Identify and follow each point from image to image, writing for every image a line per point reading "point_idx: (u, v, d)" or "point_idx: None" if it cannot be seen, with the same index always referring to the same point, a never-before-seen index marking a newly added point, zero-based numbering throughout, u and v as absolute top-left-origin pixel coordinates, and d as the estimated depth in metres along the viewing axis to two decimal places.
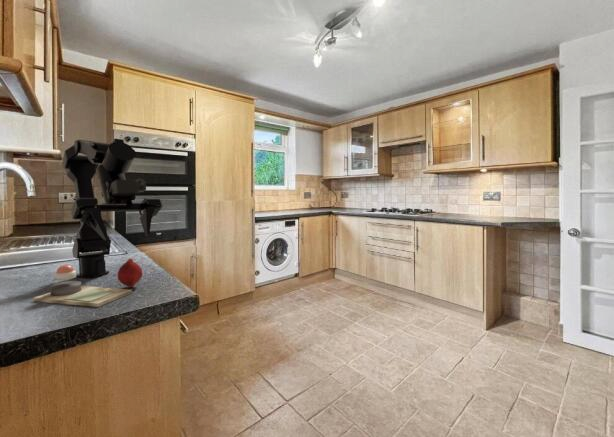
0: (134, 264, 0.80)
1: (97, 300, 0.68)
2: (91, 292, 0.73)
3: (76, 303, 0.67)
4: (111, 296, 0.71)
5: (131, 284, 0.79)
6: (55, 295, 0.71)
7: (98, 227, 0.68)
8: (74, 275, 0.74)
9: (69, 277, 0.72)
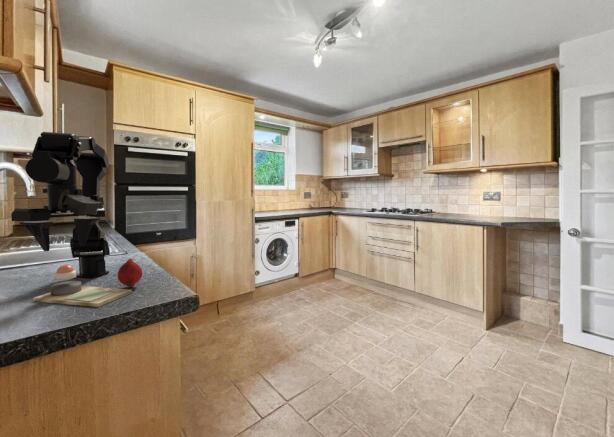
0: (134, 264, 0.80)
1: (97, 300, 0.68)
2: (91, 292, 0.73)
3: (76, 303, 0.67)
4: (111, 296, 0.71)
5: (131, 284, 0.79)
6: (55, 295, 0.71)
7: (41, 237, 0.67)
8: (74, 275, 0.74)
9: (69, 277, 0.72)
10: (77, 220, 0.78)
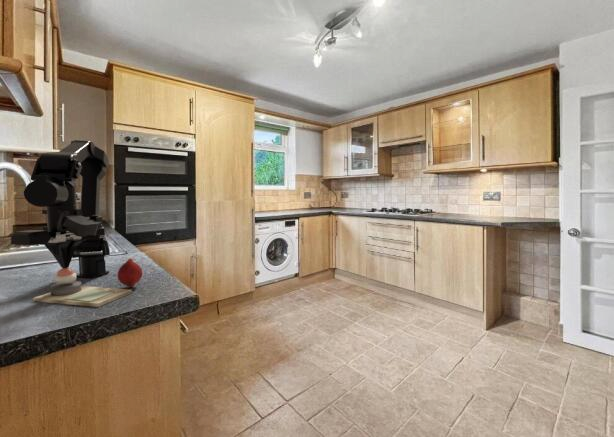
0: (134, 264, 0.80)
1: (97, 300, 0.68)
2: (91, 292, 0.73)
3: (76, 303, 0.67)
4: (111, 296, 0.71)
5: (131, 284, 0.79)
6: (55, 295, 0.71)
7: (59, 256, 0.72)
8: (74, 278, 0.74)
9: (69, 280, 0.72)
10: None
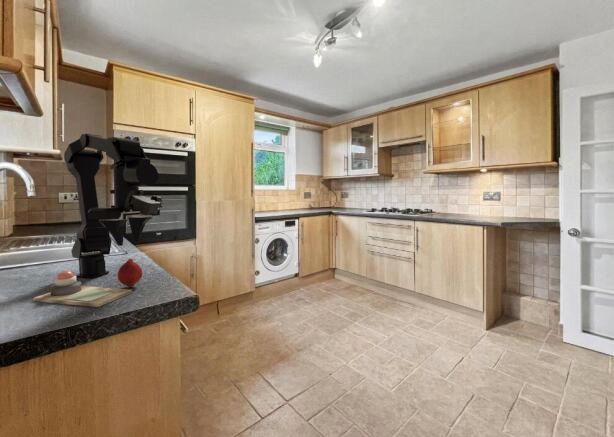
0: (134, 264, 0.80)
1: (97, 300, 0.68)
2: (91, 292, 0.73)
3: (76, 303, 0.67)
4: (111, 296, 0.71)
5: (131, 284, 0.79)
6: (55, 295, 0.71)
7: (117, 233, 0.76)
8: (74, 281, 0.74)
9: (69, 283, 0.72)
10: (131, 219, 0.83)
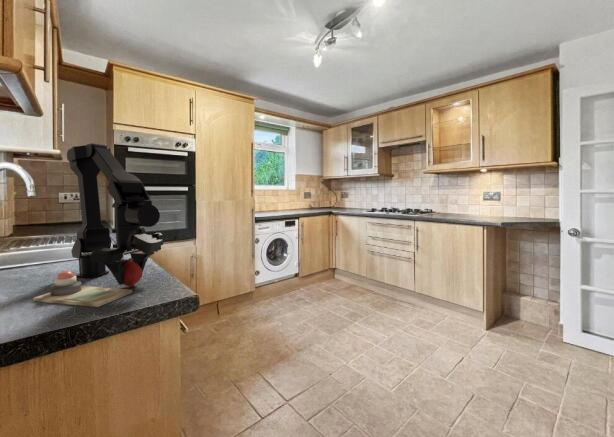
0: (134, 264, 0.80)
1: (97, 300, 0.68)
2: (91, 292, 0.73)
3: (76, 303, 0.67)
4: (111, 296, 0.71)
5: (131, 284, 0.79)
6: (55, 295, 0.71)
7: (118, 273, 0.76)
8: (74, 281, 0.74)
9: (69, 283, 0.72)
10: (133, 255, 0.84)
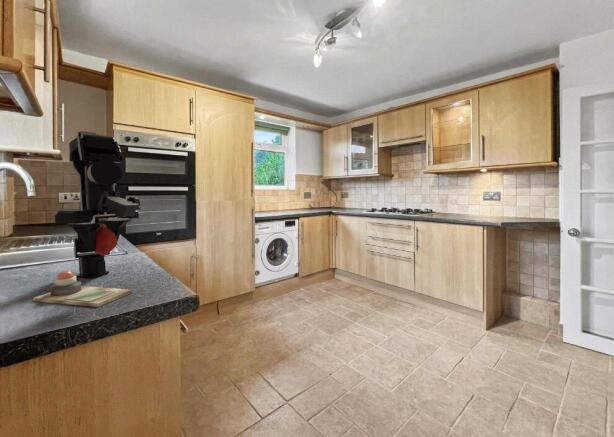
0: (107, 230, 0.72)
1: (97, 300, 0.68)
2: (91, 292, 0.73)
3: (76, 303, 0.67)
4: (111, 296, 0.71)
5: (104, 252, 0.72)
6: (55, 295, 0.71)
7: (88, 238, 0.69)
8: (74, 281, 0.74)
9: (69, 283, 0.72)
10: (107, 222, 0.76)
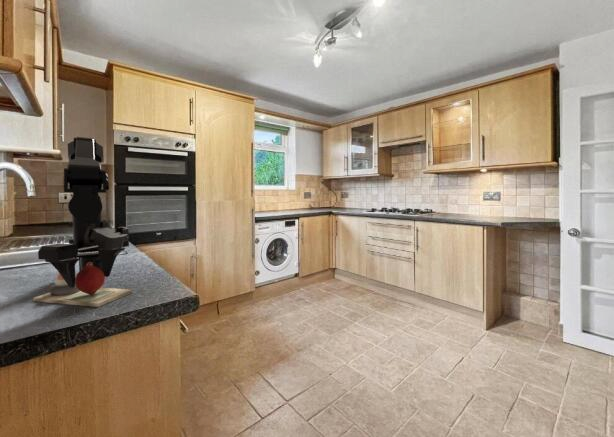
0: (94, 269, 0.70)
1: (97, 300, 0.68)
2: None
3: (76, 303, 0.67)
4: (111, 296, 0.71)
5: (91, 291, 0.70)
6: (55, 295, 0.71)
7: (67, 274, 0.65)
8: None
9: None
10: (101, 251, 0.76)
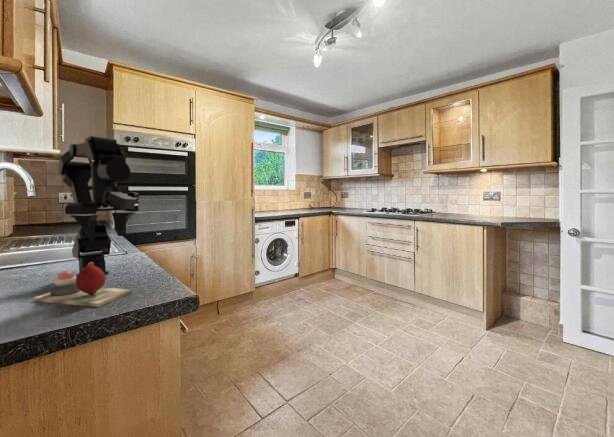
0: (95, 269, 0.70)
1: (97, 300, 0.68)
2: None
3: (76, 303, 0.67)
4: (111, 296, 0.71)
5: (92, 291, 0.70)
6: (55, 295, 0.71)
7: (88, 228, 0.77)
8: (74, 281, 0.74)
9: (69, 283, 0.72)
10: (115, 214, 0.88)
